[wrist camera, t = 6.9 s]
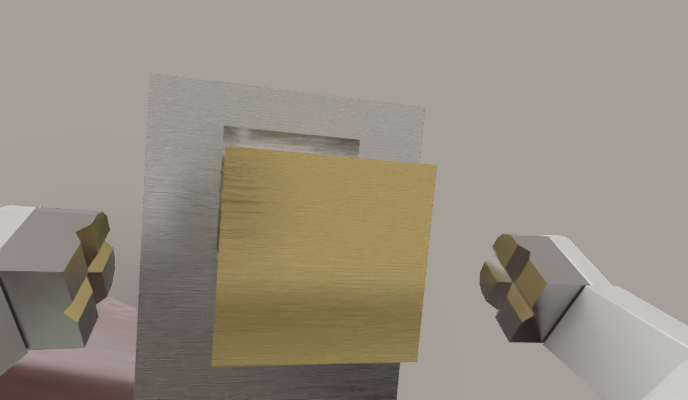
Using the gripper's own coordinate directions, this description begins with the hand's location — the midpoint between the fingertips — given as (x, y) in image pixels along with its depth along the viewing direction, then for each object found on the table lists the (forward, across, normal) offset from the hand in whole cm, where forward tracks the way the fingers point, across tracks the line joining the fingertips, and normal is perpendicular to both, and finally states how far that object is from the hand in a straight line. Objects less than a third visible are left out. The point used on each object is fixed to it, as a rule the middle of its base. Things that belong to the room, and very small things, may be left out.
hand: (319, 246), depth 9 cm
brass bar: (+6, 0, -5) cm, 8 cm away
